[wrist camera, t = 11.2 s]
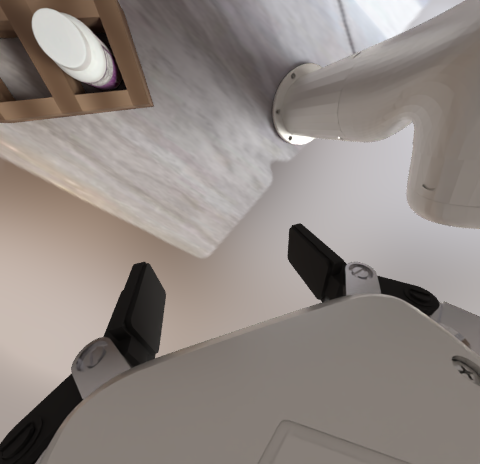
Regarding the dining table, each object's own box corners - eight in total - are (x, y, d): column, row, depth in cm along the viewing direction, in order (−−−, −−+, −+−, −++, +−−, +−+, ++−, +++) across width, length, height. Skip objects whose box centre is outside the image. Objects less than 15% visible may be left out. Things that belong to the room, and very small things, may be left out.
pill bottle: (67, 56, 23) (3, 20, 15) (95, 29, 22) (45, -24, 14) (105, 100, 26) (69, 88, 18) (131, 77, 25) (106, 54, 17)
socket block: (122, 7, 22) (110, -14, 19) (153, 106, 28) (149, 103, 24) (-69, 12, 19) (-123, -12, 16) (11, 122, 25) (-16, 122, 21)
